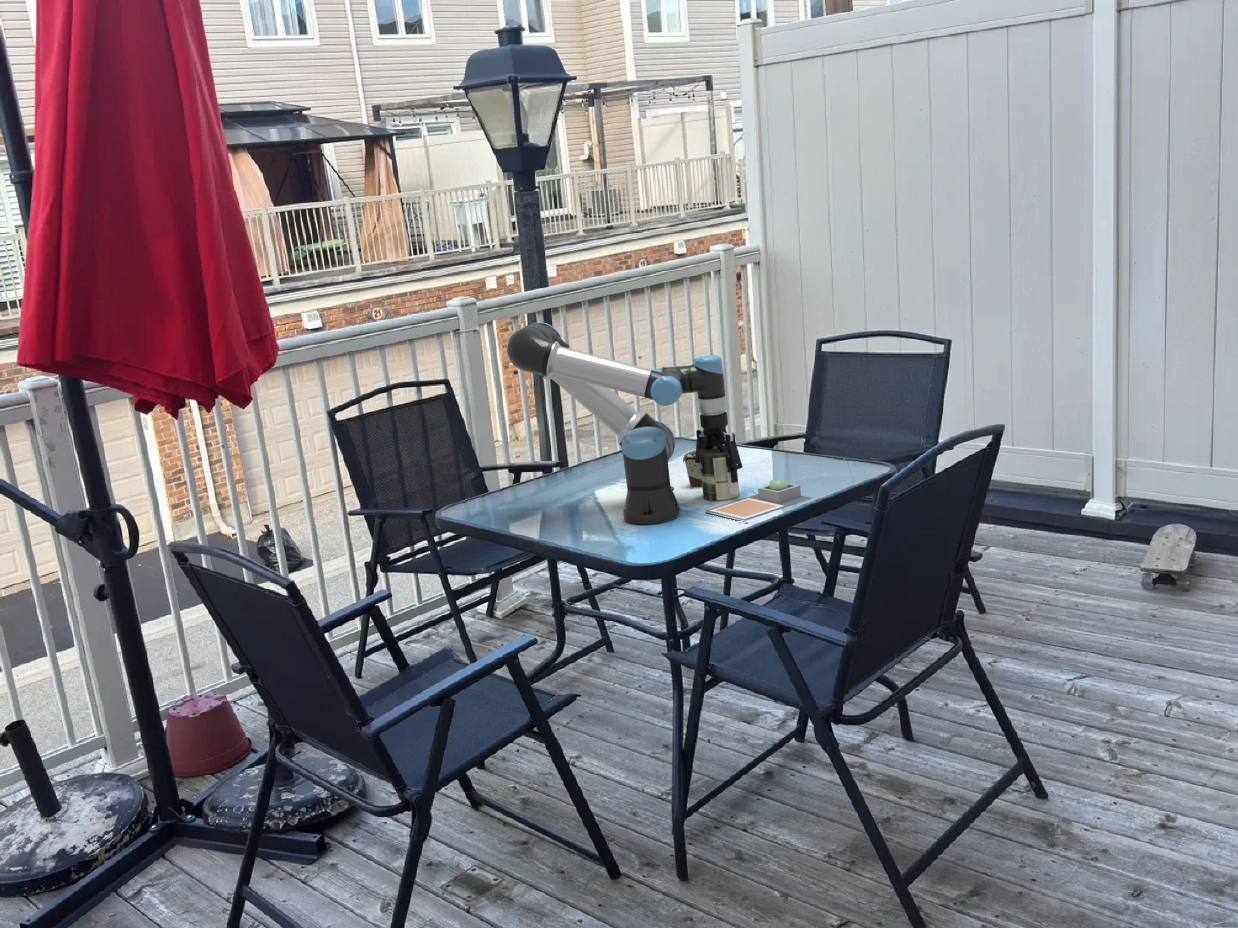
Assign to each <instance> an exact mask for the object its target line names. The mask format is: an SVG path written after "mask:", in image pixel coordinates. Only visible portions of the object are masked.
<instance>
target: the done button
mask: <svg viewBox="0 0 1238 928" xmlns="http://www.w3.org/2000/svg"><path fill="white" fill-rule="evenodd" d="M788 481H789V480H788V479H786V478H777V479H771V480H769V485H770V490H775V491H780V490H784V489H787V488H788V483H789V482H788Z"/></svg>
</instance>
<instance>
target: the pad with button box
mask: <svg viewBox="0 0 1238 928" xmlns="http://www.w3.org/2000/svg"><path fill="white" fill-rule="evenodd" d="M801 493H802V491H801V485H799V484H793V483H789V482H788V488H787V489H784V490H780V491H775V490H770V484H767V485H764V486H761V487H758V488H757V494H754V495H751V496H747V497H744V498H740V499H738V500H734V501H731V502H728V503H726V504H723V505H720V506H716V507H714V508H711V509H709V508H708V509H707V510H705V514H706V515H709V516H713V515H714V516H713V517H717V516H718V518H721V517H722V518H721V519H725V518H726V519H725V520H729V519H731V520H730V521H733V520H735V521H734V522H737V521H743V522H747V521H749V520H752V519H755V518H758V517H761V516H764V515H768V514H770V513H773V512H777V511H779V510H782V509H785V508H788V507H791V506H793V505H794V506H795V505H796V504H800V503H802V502H807V501H808V500H812V499H813V497H809V496H804V495H802V494H801Z"/></svg>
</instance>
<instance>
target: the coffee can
mask: <svg viewBox="0 0 1238 928" xmlns="http://www.w3.org/2000/svg"><path fill="white" fill-rule="evenodd" d="M698 454H699V460H700V470H701V479H702V487H701V488H702V496H703V497H702V498H703V499H704V500H705V501H709V502H724V501H729V500H733V499H736V498H738V497H740V488H739V481H738V482H737V485H738V493H736V494H732V495H729V490H728V480H727V471H728V467H727V465H726V457H725V456H729V453H728V452H724V453H721V452H720V450H718V449H717V447H715V446H714V447H713V448H712V449H708V450H704V448H703V449H701V450H699V451H698ZM737 475H738V473H737ZM738 476H739V475H738Z"/></svg>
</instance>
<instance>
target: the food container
mask: <svg viewBox="0 0 1238 928" xmlns="http://www.w3.org/2000/svg"><path fill="white" fill-rule="evenodd" d="M695 454H696V450H692V451H689V452H686V453H684V455H683V457H682V458H683V459H682V462H683V463H685V468H686V473H687V476H688V482H689V486H690V487H689V488H690V489H699V488H700V489H701V488H702V479H701V470H700V465H699V463H696V462H695Z"/></svg>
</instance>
